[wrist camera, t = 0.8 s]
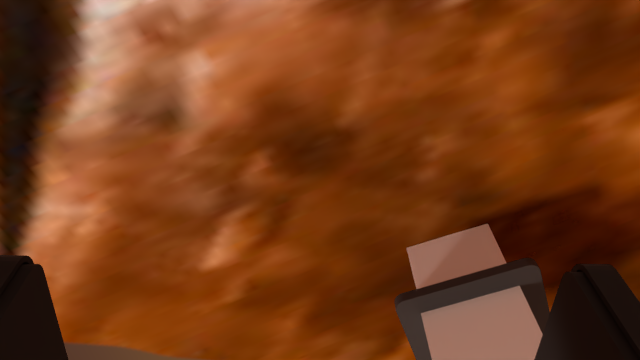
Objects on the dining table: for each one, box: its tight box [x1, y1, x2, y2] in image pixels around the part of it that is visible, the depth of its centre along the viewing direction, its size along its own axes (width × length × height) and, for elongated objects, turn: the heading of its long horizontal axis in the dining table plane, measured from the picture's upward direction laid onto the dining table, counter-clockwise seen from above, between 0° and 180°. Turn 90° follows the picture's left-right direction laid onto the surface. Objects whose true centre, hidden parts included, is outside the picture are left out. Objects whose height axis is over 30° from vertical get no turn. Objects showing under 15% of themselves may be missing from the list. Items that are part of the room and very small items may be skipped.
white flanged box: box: [395, 223, 550, 360], centre depth 46 cm, size 25×24×16 cm
